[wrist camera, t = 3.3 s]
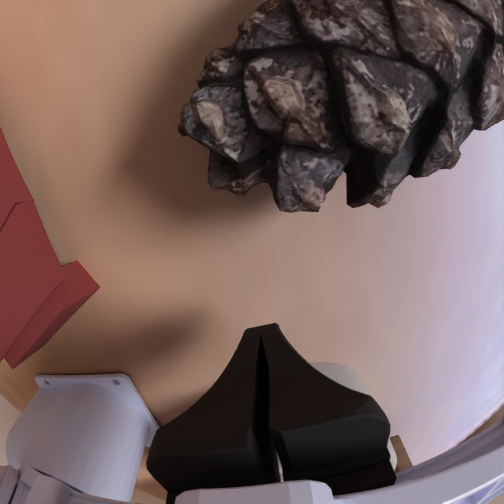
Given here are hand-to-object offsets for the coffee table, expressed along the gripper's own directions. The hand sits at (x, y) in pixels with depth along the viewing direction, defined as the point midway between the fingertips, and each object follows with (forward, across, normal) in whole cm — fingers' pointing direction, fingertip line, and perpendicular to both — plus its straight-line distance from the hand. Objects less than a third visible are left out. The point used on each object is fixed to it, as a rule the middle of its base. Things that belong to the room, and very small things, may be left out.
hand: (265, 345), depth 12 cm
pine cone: (+4, -8, -11) cm, 14 cm away
